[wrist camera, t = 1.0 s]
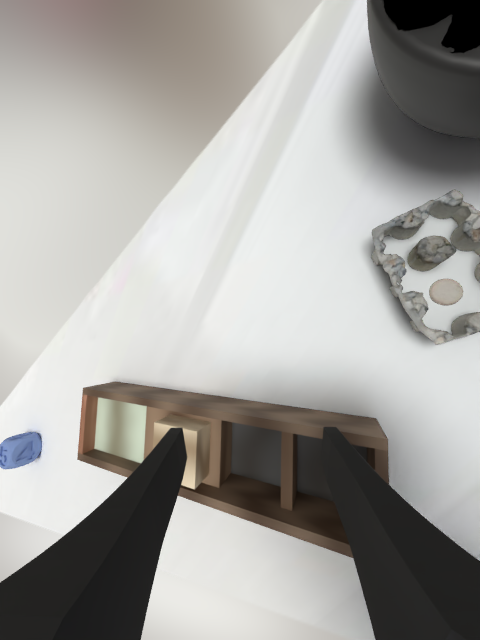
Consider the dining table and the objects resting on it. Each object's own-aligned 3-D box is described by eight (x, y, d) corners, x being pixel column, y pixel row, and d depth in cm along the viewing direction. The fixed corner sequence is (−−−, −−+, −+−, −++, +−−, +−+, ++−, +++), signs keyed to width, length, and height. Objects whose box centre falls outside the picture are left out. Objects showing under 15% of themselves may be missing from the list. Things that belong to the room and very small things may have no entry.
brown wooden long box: (376, 418, 20) (387, 439, 16) (378, 521, 19) (390, 571, 15) (115, 381, 32) (83, 387, 28) (110, 443, 32) (77, 459, 28)
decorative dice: (42, 433, 38) (11, 443, 34) (41, 458, 37) (9, 471, 34) (29, 431, 39) (-3, 440, 36) (27, 455, 39) (-4, 467, 35)
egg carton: (521, 316, 17) (575, 310, 13) (412, 348, 20) (431, 350, 16) (451, 202, 19) (480, 169, 16) (360, 243, 22) (366, 224, 18)
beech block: (208, 474, 22) (194, 489, 20) (168, 462, 24) (151, 475, 22) (210, 422, 23) (197, 431, 20) (170, 414, 25) (154, 422, 22)
